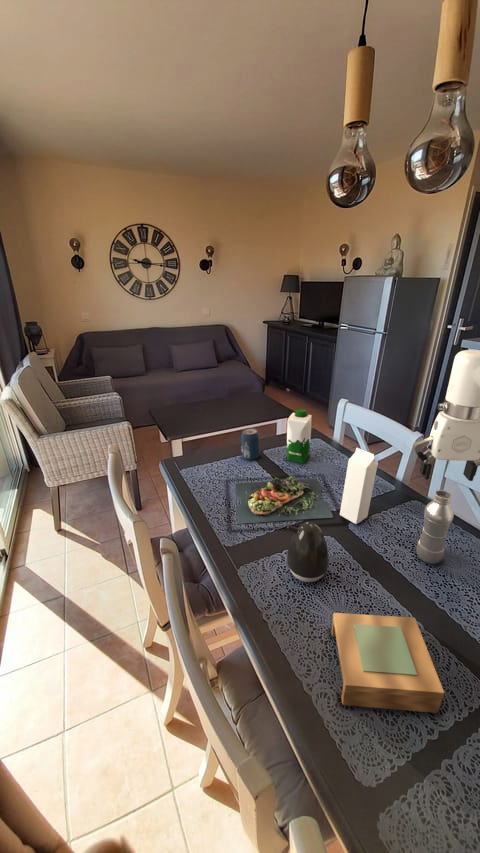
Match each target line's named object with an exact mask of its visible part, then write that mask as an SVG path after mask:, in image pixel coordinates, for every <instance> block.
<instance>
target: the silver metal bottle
mask: <svg viewBox="0 0 480 853" xmlns="http://www.w3.org/2000/svg"><path fill="white" fill-rule="evenodd" d="M452 498H453V496H452V494H451V492H449V491H447V490H443V489H437V490H435V492H434V494H433V497H432V499H433V500H431V501H429V503H427V504H426V505H425V507H424V512H423V513H424V514H423V515H424V516H423V517H424V518H423V524H422V526H423V527H422V531H421V534H420V537H419V539H418V541H417V543H416V546H415V547H416V548H415V550H416V551H415V552H416V556H418V558H419V559H420V560H421V561H422V562H423V563H426V564H430V565H436V564H439V563H440V562H441V561H442V560H443V558H444V556H445V544H446V537H447V534H448V530H449V528H450V526H451V524H452V522H453V520H454V517H455V516H454V511H453V508H452V506H451V503H452Z"/></svg>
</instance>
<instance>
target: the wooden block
mask: <svg viewBox="0 0 480 853" xmlns="http://www.w3.org/2000/svg"><path fill="white" fill-rule="evenodd" d="M331 637H332V638H335V640H336V646H337V651H338V658H339V664H340V671H341V677H342V683H343V684H342V690H341V697H340V698H341V703H342V704H341V706H350V707H360V708H374V709H385V710H387V709H388V710H398V711H399V710H400V711H409V712H421V713H434V714H439V711H440V708H441V705H442V701H443V699H444V697H445V696H444V695H445V690H444V688H443V686H442V685H443V684H442V683H441V681H440V678H439V675H438V673H437V670H436V667H435V665H434V663H433V660H432V658H431V655H430V651H429V650H428V648H427V645H426V642H425V639H424V637H423V634H422V632H421V630H420V626H419V625H418V622H417V620H416V617H413V616H412V617H411V616H394V615H377V614H363V613H361V614H360V613H345V612H333V614H332V623H331Z"/></svg>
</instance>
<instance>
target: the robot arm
mask: <svg viewBox="0 0 480 853" xmlns="http://www.w3.org/2000/svg"><path fill="white" fill-rule="evenodd" d="M436 409H437V410H438V411H439V412H438V414H437V416H436V417H435V420H434V423H433V425H432V428H431V431H430V432H429V433H430V434H429V437H426V438H424V439H421V440H419V441H416V442H413V443H412V447H413V449H414V452H415V454H416V456H417V457H418V459H420V460H421V461H420V466H419V473H420V475H421V476H422V477H423V479H424V480H426V481H427V480H429V479H430V476H431V471H432V464H431V463H432V462H433V461H435V460H440V461H461V462H462V461H463V462H464V461H466V462H465V466H464V469H463V473H462V475H463V476H464V477H465V478H466V479H467V480H468V481H469V482H473V481H474V479H475V478H474V477H475V476H476V475H477V471H478V467H480V350H479V349H465V350H461V351H459V352H457V353H456V355H455V356H454V359H453V363H452V368H451V372H450V376H449V381H448V386H447V390H446V394H445V398H444V399H443V402H442V403H437V405H436ZM423 448H426V449H427V450H425V451H424V452H423V450H422V449H423Z"/></svg>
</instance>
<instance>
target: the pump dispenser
mask: <svg viewBox="0 0 480 853" xmlns="http://www.w3.org/2000/svg"><path fill="white" fill-rule="evenodd" d="M286 530H288V531H290V532H291V533H293V535H292V537H291V539H290V542H289V545H288V548H287V553H286V564H287V566H288V568H289V570H290V572H291V575H293V576H294V577H295V578H296V579H298V580H299V581H302V582H305V583H313V582H314V583H315V582H317V581H318V580H320V579H321V578H323V577H324V575H325V574H326V572H327V571H328V569H329V563H330V559H329V558H330V556H329V549H328V544H327V540H326V538H325V536H324V533H323V531H322V530H321V528H320V527H319V526H318V525H317V523H315V522H313V521H305V522H302V523H301V524H300V525H299V526H298V527H297V526H294V525H289V524H288V525H287V526H286Z"/></svg>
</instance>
